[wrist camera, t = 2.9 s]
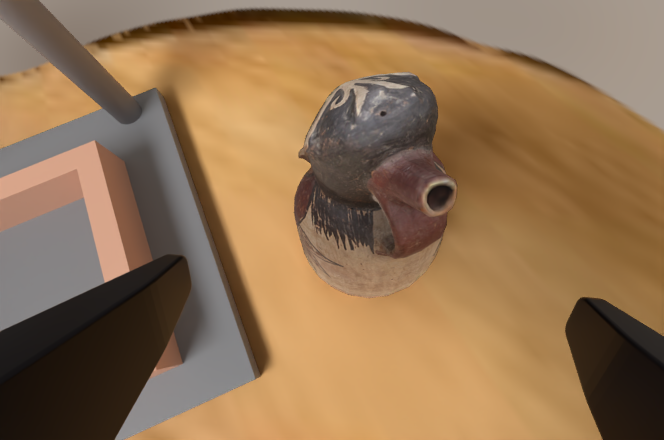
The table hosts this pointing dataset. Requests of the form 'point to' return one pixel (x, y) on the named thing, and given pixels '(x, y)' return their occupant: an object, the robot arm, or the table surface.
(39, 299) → the awning stand
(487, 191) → the table surface
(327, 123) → the figurine
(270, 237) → the table surface
